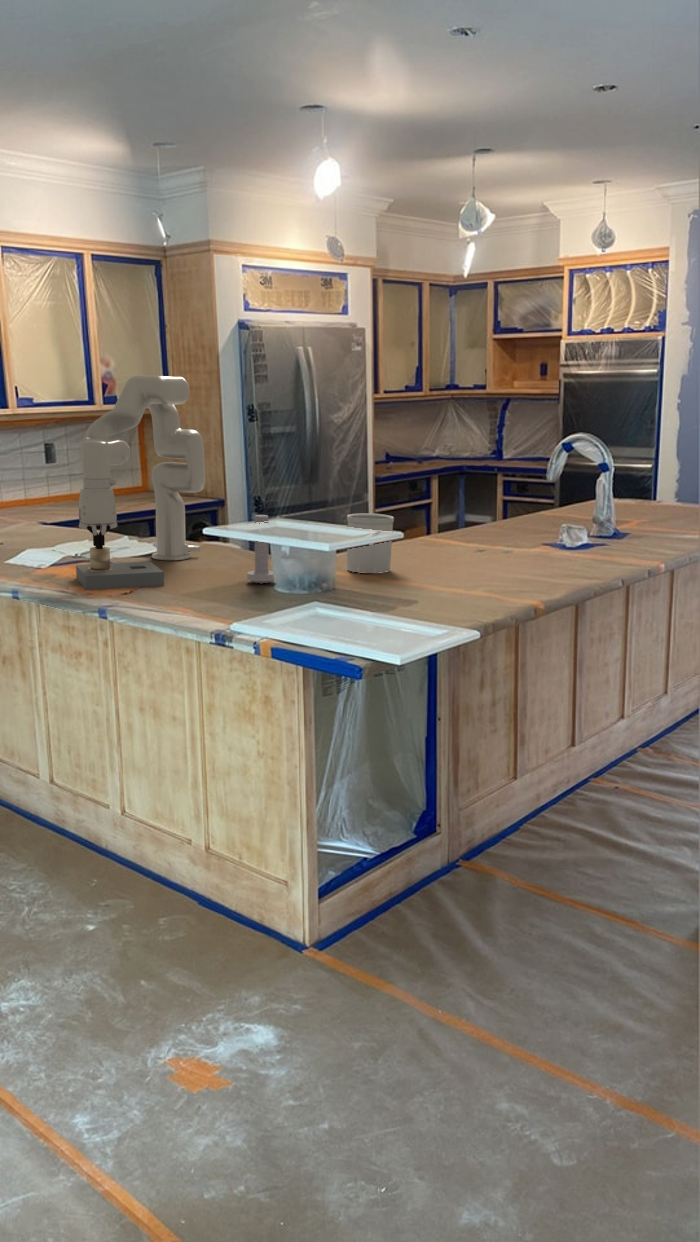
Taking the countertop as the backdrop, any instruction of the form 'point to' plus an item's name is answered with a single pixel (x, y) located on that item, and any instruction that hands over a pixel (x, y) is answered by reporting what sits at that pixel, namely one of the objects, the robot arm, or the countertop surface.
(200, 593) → the countertop surface
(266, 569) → the screw
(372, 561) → the utensil holder
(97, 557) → the peg
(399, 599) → the countertop surface
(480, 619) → the countertop surface
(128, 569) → the seat block
